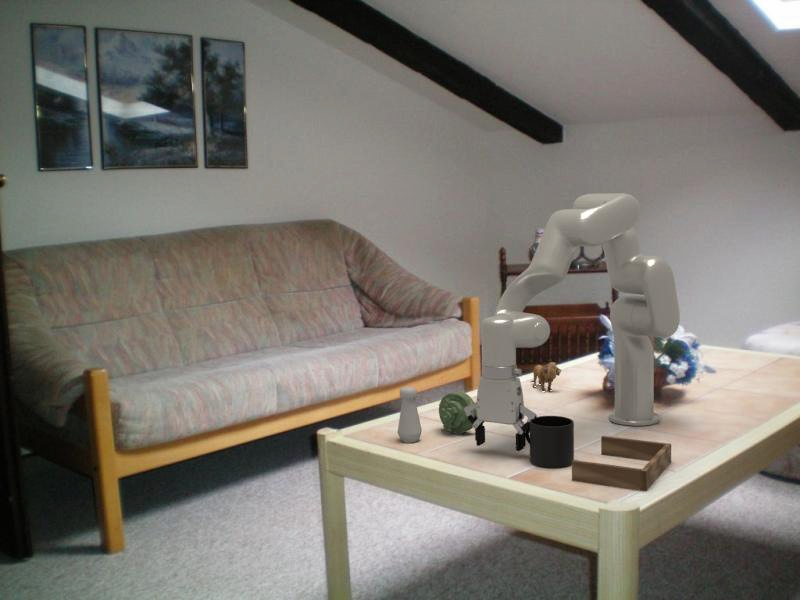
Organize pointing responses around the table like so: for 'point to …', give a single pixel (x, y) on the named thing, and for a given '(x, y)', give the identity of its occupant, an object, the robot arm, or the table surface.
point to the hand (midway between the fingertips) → (500, 447)
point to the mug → (551, 441)
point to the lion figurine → (546, 374)
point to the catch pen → (621, 475)
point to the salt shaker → (409, 416)
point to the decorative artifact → (455, 412)
